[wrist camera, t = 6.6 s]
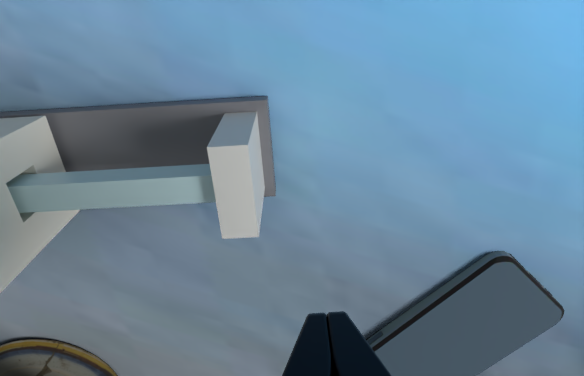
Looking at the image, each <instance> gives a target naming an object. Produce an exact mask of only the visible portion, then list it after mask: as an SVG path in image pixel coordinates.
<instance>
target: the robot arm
mask: <svg viewBox="0 0 584 376" xmlns="http://www.w3.org/2000/svg"><path fill="white" fill-rule="evenodd" d="M282 376H391V374H390V373H389V371H388V370H387V369H386V367H385V366H384V364H383V363H382V362H381V360H380V359H379V358H378V356H377V355H376V353H375V352H374V351H373V349H372V348H371V347H370V345H369V344H368V342H367V341H366V340H365V338H364V337H363V336H362V334H361V333H360V331H359V330H358V329H357V327H356V326H355V324H354V323H353V322H352V320H351V319H350V318H349V316H348V315H347V314H346V313H345V312H343V311H342V312H329V313H328V314H327V316H326V314H325V313H312V314H309V315H308V316H307V317H306V320H305V322H304V324H303V327H302V329H301V332H300V334H299V336H298V339H297V341H296V344H295V346H294V348H293V351H292V353H291V356H290V358H289V360H288V363H287V365H286V368H285V370H284V372H283V375H282Z"/></svg>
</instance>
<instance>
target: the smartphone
mask: <svg viewBox="0 0 584 376" xmlns="http://www.w3.org/2000/svg"><path fill="white" fill-rule="evenodd" d="M563 315H564V309H563V307H562V306H561V305H560V304H559V302H558V301H557V300H556V299H555V298H554V297H553V296H552V295H551V294H550V293H549V292H548V291H547V290H546V289H544V287H543V286H542V285H541V284H540V283H539V282H538V281H537V280H536V279H535V278H534V277H533V276H532V275H531V274H530V273H529V272H528V271H526V270H525V268H524V267H523V266H522V265H521V264H520V263H519V262H518V261H517V260H516V259H515V258H514V257H513V256H512V255H511V254H509V253H507V252H505V251H495V252H491V253H489V254H487V255H485V256H484V257H483V258H481V259H480V260H478V261H477V262H476V263H474V264H473V265H471V266H470V267H468V268H467V269H466V270H464V271H463V272H461V273H460V274H459V275H457V276H456V277H454V278H453V279H452V280H450V281H449V282H447V283H446V284H444V285H443V286H442V287H440V288H439V289H437V290H436V291H435V292H433V293H432V294H430V295H429V296H428V297H426V298H425V299H423V300H422V301H420V302H419V303H418V304H416V305H415V306H413V307H412V308H411V309H409V310H408V311H406V312H405V313H403V314H402V315H401V316H399V317H398V318H396V319H395V320H394V321H392V322H391V323H389V324H388V325H387V326H385V327H384V328H382V329H381V330H380V331H378V332H377V333H376V334H374V335H373V336H372V337H370V338H369V339H368V340H366V341H367V342H368V344H369V345H370V347H371V348H372V349H373V351H374V352H375V353H376V355H377V356H378V358H379V359H380V360H381V362H382V363H383V364H384V366H385V367H386V369H387V370H388V371H389V373H390V374H391V376H476V375H478V374H479V373H481V372H483V371H484V370H486V369H487V368H489V367H490V366H492V365H494V364H495V363H497V362H498V361H500V360H501V359H503V358H504V357H506V356H508V355H509V354H511V353H512V352H514V351H515V350H517V349H518V348H520V347H522V346H523V345H525V344H526V343H528V342H529V341H531V340H533V339H534V338H536V337H537V336H539V335H540V334H542V333H543V332H545V331H547V330H548V329H550V328H551V327H553V326H554V325H556V324H557V323H558V322H559V321H560V320H561V318H562V317H563Z"/></svg>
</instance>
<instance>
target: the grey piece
mask: <svg viewBox="0 0 584 376" xmlns="http://www.w3.org/2000/svg"><path fill="white" fill-rule="evenodd" d="M31 116H46V118H47V121H48V124H49V127H50V130H51V132H52V135H53V138H54V141H55V143H56V146H57V149H58V152H59V155H60V157H61V160H62V163H63V166H64V168H65V171H66V172H58V173H41V174H23V175H18V176H16V177H15V178H13V179H12V180H10V181H9V182H7V183H6V185H7V187H8V189H9V191H10V194H11V196H12V198H13V200H14V203H15V205H16V207H17V209H18V212H19V213H29V212H47V211H65V210H83V209H101V208H119V207H137V206H155V205H173V204H191V203H209V202H216V205H217V210H218V216H219V222H220V228H221V234H222V239H228V238H247V237H259V231H260V223H261V215H262V207H263V199H264V197H267V196H275V194H276V186H275V174H274V163H273V152H272V140H271V129H270V118H269V106H268V96H256V97H240V98H223V99H207V100H191V101H174V102H158V103H141V104H125V105H109V106H92V107H76V108H60V109H43V110H27V111H11V112H0V118H15V117H31Z"/></svg>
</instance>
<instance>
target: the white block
mask: <svg viewBox="0 0 584 376" xmlns="http://www.w3.org/2000/svg"><path fill="white" fill-rule="evenodd" d="M58 172H66V171H65V168H64V166H63V163H62V160H61V157H60V155H59V152H58V149H57V146H56V143H55V141H54V138H53V135H52V132H51V130H50V127H49V124H48V121H47V118H46V116H31V117H15V118H0V293H1V292H2V291H3V290H4V289H5V288H6V287H7V286H8V285H9V284H10V283H11V282H12V281H13V280H14V279H15V278H16V277H17V276H18V274H19V273H20V272H21V271H22V270H23V269H24V268H25V267H26V266H27V265H28V264H29V263H30V262H31V261H32V260H33V259H34V258H35V257H36V256H37V255H38V254H39V253H40V252H41V251H42V249H43V248H44V247H45V246H46V245H47V244H48V243H49V242H50V241H51V240H52V239H53V238H54V237H55V236H56V235H57V234H58V233H59V232H60V231H61V230H62V229H63V228H64V227H65V225H66V224H67V223H68V222H69V221H70V220H71V219H72V218H73V217H74V216H75V215H76V214H77V213H78V212H79V211H80V210H65V211H47V212H29V213H19V212H18V209H17V207H16V205H15V203H14V200H13V198H12V196H11V194H10V191H9V189H8V187H7V185H6V183H7V182H9V181H10V180H12V179H13V178H15V177H16V176H18V175H23V174H41V173H58Z"/></svg>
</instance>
